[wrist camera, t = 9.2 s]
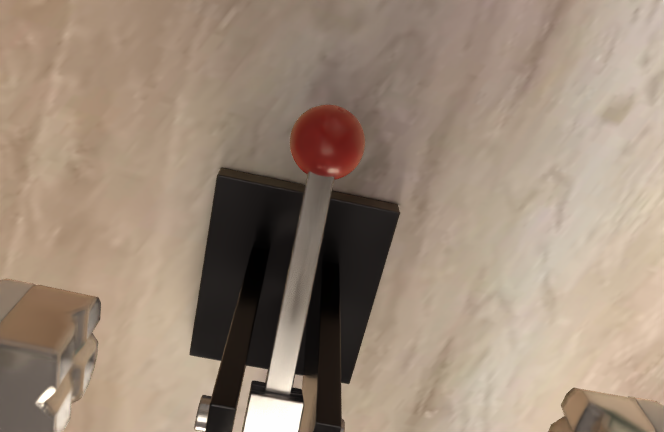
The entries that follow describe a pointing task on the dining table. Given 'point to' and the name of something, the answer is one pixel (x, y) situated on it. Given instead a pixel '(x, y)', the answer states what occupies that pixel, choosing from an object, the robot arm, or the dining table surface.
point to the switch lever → (303, 259)
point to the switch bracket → (268, 286)
